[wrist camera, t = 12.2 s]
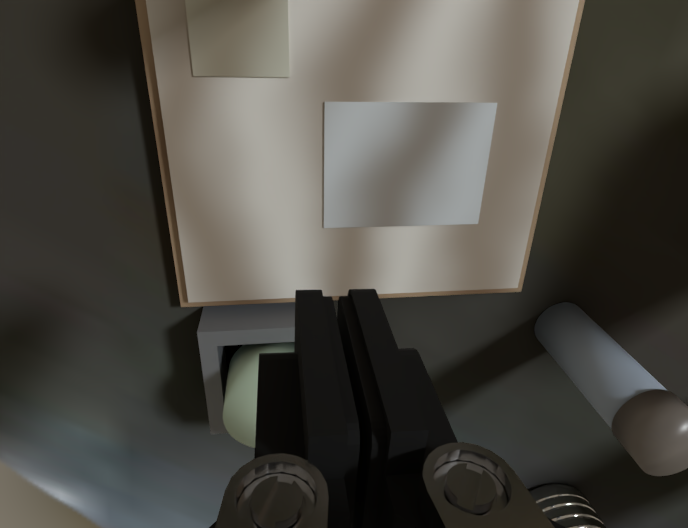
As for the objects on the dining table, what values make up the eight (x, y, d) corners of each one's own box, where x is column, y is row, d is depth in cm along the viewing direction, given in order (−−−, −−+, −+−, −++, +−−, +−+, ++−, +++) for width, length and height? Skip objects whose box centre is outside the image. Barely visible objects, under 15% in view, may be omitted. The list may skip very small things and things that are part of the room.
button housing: (330, 300, 27) (334, 325, 25) (328, 395, 30) (333, 424, 28) (203, 306, 26) (196, 332, 24) (215, 403, 30) (210, 434, 27)
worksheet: (643, -325, 17) (669, -349, 16) (514, 284, 28) (525, 296, 27) (82, -396, 15) (65, -430, 14) (183, 299, 26) (179, 312, 25)
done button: (310, 334, 26) (315, 376, 23) (311, 398, 28) (315, 444, 25) (225, 339, 26) (218, 382, 23) (232, 404, 28) (226, 452, 25)
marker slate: (590, 299, 30) (724, 418, 21) (577, 344, 31) (696, 472, 22) (538, 302, 29) (652, 424, 20) (528, 347, 31) (629, 479, 22)
